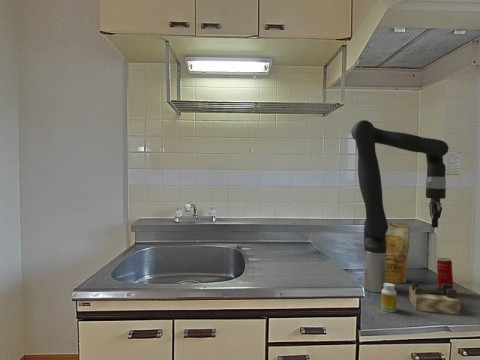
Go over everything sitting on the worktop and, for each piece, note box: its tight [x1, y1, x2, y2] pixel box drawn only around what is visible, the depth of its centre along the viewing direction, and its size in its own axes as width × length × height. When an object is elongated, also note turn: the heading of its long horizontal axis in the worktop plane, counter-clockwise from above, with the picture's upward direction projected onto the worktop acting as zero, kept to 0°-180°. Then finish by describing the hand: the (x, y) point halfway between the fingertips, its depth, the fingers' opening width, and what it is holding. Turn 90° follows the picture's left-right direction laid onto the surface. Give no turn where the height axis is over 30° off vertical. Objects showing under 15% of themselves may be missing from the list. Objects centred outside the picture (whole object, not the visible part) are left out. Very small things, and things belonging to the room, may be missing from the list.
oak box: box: [408, 282, 461, 315], centre depth 144 cm, size 15×14×8 cm
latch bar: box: [414, 285, 449, 294], centre depth 144 cm, size 13×4×1 cm, turn 75°
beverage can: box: [436, 257, 454, 289], centre depth 158 cm, size 6×6×15 cm
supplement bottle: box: [380, 282, 398, 313], centre depth 140 cm, size 5×5×10 cm
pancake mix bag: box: [386, 221, 411, 285], centre depth 175 cm, size 7×19×28 cm, turn 67°
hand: (434, 227), depth 157 cm, fingers closed
